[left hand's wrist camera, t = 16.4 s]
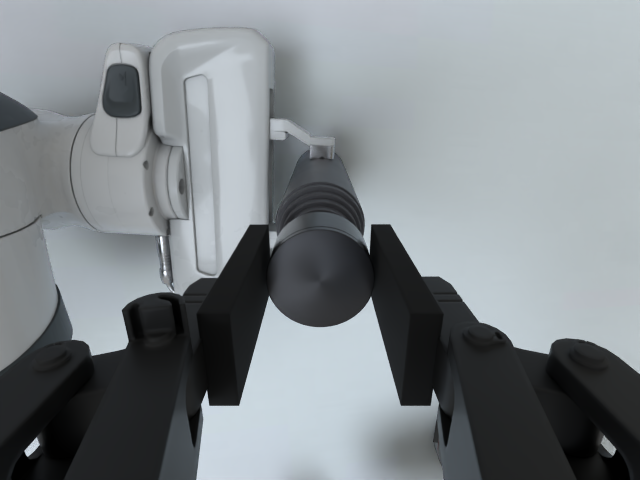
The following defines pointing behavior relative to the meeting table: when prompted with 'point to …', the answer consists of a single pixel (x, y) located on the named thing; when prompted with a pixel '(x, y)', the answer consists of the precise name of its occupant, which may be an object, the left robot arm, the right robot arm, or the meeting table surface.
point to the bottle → (320, 192)
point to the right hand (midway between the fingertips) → (331, 187)
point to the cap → (320, 270)
